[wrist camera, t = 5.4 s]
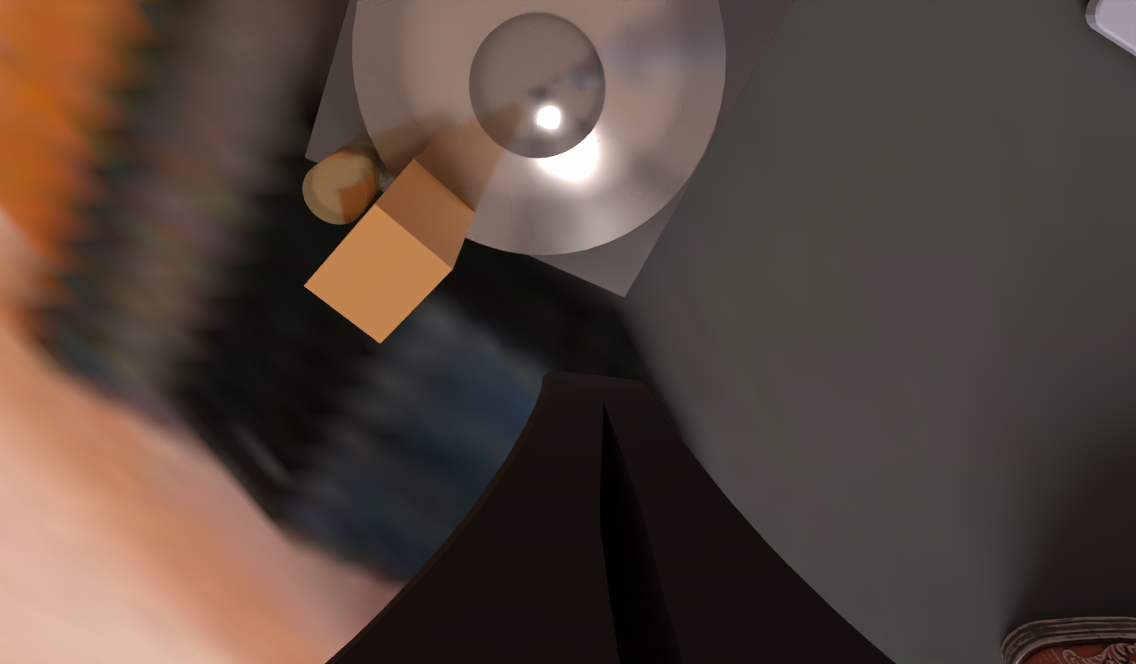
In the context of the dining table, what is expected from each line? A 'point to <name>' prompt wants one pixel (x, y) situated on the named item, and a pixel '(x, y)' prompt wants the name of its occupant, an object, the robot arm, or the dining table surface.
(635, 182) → the flange plate
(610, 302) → the dining table surface
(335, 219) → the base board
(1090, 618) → the lighter
